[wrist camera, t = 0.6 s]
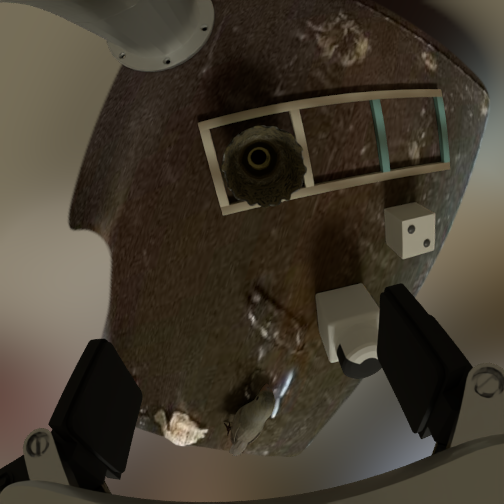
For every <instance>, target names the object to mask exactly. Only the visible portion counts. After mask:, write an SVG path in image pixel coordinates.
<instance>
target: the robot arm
mask: <svg viewBox="0 0 504 504" xmlns="http://www.w3.org/2000/svg"><path fill="white" fill-rule="evenodd" d="M0 2H9V3H20V4H26V5H30V6H34V7H37V8H40V9H43V10H46V11H48V12H51V13H53V14H55V15H58V16H60V17H63V18H64V19H66V20H68V21H70V22H72V23H74V24H76V25H79V26H80V27H83V28H85V29H87V30H88V31H90V32H92V33H95V34H96V35H98V36H100V37H102V38H104V39H106V40H107V44H108V47H109V50H110V52H111V53H112V55H113V56H114V57H115V58H116V59H117V60H118V61H119V62H120V63H122V64H123V65H125V66H126V67H129V68H131V69H134V70H138V71H142V72H156V71H163V70H167V69H170V68H173V67H175V66H178V65H180V64H182V63H184V62H185V61H187V60H188V59H190V58H191V57H193V56H194V55H195V54H196V53H197V52H198V51H199V50H200V49H201V48H202V47H203V46H204V44H205V43H206V42H207V40H208V38H209V36H210V35H211V32H212V29H213V26H214V18H215V15H214V8H213V5H212V1H211V0H0ZM204 28H206V29H207V30H206V31H203V29H204ZM124 55H126V56H125V58H123V57H124ZM167 61H170V64H167ZM377 358H378V360H379V363H380V364H381V366H382V368H383V370H384V372H385V374H386V376H387V378H388V380H389V383H390V385H391V387H392V389H393V391H394V393H395V395H396V397H397V399H398V401H399V403H400V405H401V408H402V410H403V412H404V414H405V416H406V418H407V421H408V423H409V425H410V427H411V429H412V431H413V432H414V433H418V434H419V436H420V438H421V439H423V438H426V437H428V436H430V435H432V437H433V439H434V441H436V444H435V447H434V450H433V453H432V455H431V456H429V457H426V458H424V459H421V460H419V461H416V462H414V463H411V464H409V465H406V466H403V467H401V468H398V469H395V470H392V471H389V472H386V473H383V474H380V475H377V476H374V477H370V478H367V479H364V480H360V481H357V482H353V483H349V484H345V485H342V486H337V487H334V488H329V489H324V490H320V491H315V492H310V493H304V494H299V495H292V496H285V497H278V498H270V499H261V500H250V501H235V502H175V501H160V500H150V499H141V498H133V497H125V496H119V495H112V494H111V492H110V490H109V489H108V486H107V485H106V483H105V481H104V480H105V476H106V477H108V478H113V479H119V480H120V478H121V473H123V472H124V471H125V468H126V464H127V459H128V455H129V451H130V446H131V442H132V438H133V434H134V430H135V426H136V422H137V418H138V414H139V410H140V406H141V402H142V392H141V390H140V388H139V387H138V385H137V384H136V382H135V381H134V379H133V378H132V376H131V374H130V373H129V371H128V370H127V368H126V366H125V365H124V363H123V362H122V360H121V358H120V357H119V355H118V353H117V352H116V350H115V348H114V346H113V345H112V343H110V342H108V341H107V340H106V339H94V340H90V341H89V343H88V345H87V347H86V348H85V350H84V352H83V354H82V356H81V358H80V360H79V362H78V363H77V365H76V367H75V369H74V371H73V373H72V375H71V377H70V379H69V381H68V383H67V385H66V387H65V389H64V391H63V393H62V395H61V398H60V400H59V402H58V404H57V406H56V408H55V410H54V413H53V415H52V417H51V419H50V422H49V426H50V427H51V428H52V431H51V432H50V431H49V430H47V429H44V428H39V429H36V430H34V431H32V432H31V433H30V434H29V435H28V437H27V438H26V439H25V441H24V445H23V452H24V455H23V456H21V457H19V458H18V459H16V460H14V461H13V462H11V463H9V464H8V465H6V466H4V467H3V468H1V469H0V504H504V370H503V369H502V368H501V367H499V366H498V365H495V364H492V363H482V364H479V365H477V366H475V367H472V366H471V364H470V363H469V361H468V360H467V359H466V357H465V356H464V355H463V353H462V352H461V351H460V349H459V348H458V347H457V346H456V344H455V343H454V342H453V341H452V339H451V338H450V337H449V335H448V334H447V333H446V332H445V330H444V329H443V328H442V327H441V325H440V324H439V323H438V322H437V320H436V319H435V318H434V317H433V316H432V315H429V314H428V313H427V312H426V311H425V309H424V308H423V307H422V306H421V304H420V303H419V302H418V301H417V300H416V299H415V297H414V296H413V295H412V294H411V293H410V292H409V290H408V289H407V288H406V287H405V286H404V285H403V284H401V283H400V284H396V285H393V286H389V287H386V288H385V290H384V292H383V293H381V295H380V310H379V327H378V340H377Z"/></svg>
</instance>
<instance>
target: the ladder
mask: <svg viewBox="0 0 504 504" xmlns="http://www.w3.org/2000/svg"><path fill="white" fill-rule="evenodd" d="M407 97H433V98H434V104H435V110H436V117H437V124H438V133H439V142H440V153H441V162H436V163H429V164H423V165H416V166H410V167H404V168H397V169H392V170H390V164H389V155H388V148H387V140H386V134H385V127H384V121H383V115H382V110H381V104H380V99H389V98H407ZM364 100H370V105H371V111H372V116H373V122H374V128H375V134H376V140H377V147H378V154H379V162H380V170H381V171H380V172H374V173H369V174H363V175H358V176H353V177H347V178H342V179H337V180H332V181H327V182H322V183H317V184H314V181H313V175H312V170H311V164H310V159H309V154H308V149H307V144H306V139H305V135H304V130H303V125H302V121H301V116H300V112H299V109H303V108H309V107H315V106H322V105H329V104H337V103H345V102H354V101H364ZM286 111H289V114H290V118H291V122H292V127H293V131H294V136H295V139H296V141H297V143H299V144H300V145H301V147H302V148H303V152H302V156H303V158H304V160H303V162H304V165H305V166H306V167H307V173H306V175H304V179H303V180H304V185H305V186H303V187H301V189H300V190H298V191H297V192H294V193H293V194H291V199H296V198H300V197H305V196H309V195H314V194H319V193H323V192H328V191H333V190H338V189H343V188H348V187H353V186H358V185H363V184H368V183H373V182H378V181H384V180H389V179H395V178H400V177H406V176H412V175H417V174H423V173H429V172H435V171H442V170H448V169H450V159H449V146H448V136H447V127H446V119H445V111H444V105H443V98H442V93H441V89H415V90H388V91H372V92H360V93H350V94H340V95H332V96H324V97H317V98H310V99H304V100H297V101H291V102H286V103H280V104H275V105H270V106H265V107H260V108H255V109H251V110H246V111H242V112H238V113H233V114H229V115H225V116H221V117H218V118H214V119H210V120H206V121H203V122H199V123H198V126H199V130H200V134H201V137H202V141H203V145H204V148H205V152H206V156H207V159H208V163H209V167H210V170H211V174H212V178H213V181H214V185H215V189H216V192H217V196H218V199H219V203H220V207H221V210H222V214H223V215H227V214H231V213H235V212H239V211H244V210H248V209H252V208H256V207H260V206H259V205H258V204H255V206H250V205H249V204H248V203H247V202H246V201H237V202H233V203H229V200H228V196H227V193H226V189H225V185H224V182H223V178H222V174H221V170H220V167H219V163H218V159H217V155H216V152H215V148H214V144H213V140H212V136H211V133H210V129H211V128H215V127H218V126H222V125H226V124H230V123H234V122H238V121H243V120H247V119H251V118H256V117H261V116H265V115H270V114H275V113H280V112H286ZM291 199H290V200H291ZM282 201H286V200H283V199H282ZM282 201H281V202H282Z"/></svg>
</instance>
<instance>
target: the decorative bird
mask: <svg viewBox="0 0 504 504" xmlns="http://www.w3.org/2000/svg"><path fill="white" fill-rule="evenodd" d="M274 405H275V398H274V395H273V392H272V389H271V387H270V386H269V385H268V384H265V385H264V386H263V387H262V389H261V390H260V392H259V394H258V395H257V396H256V398H255V400H253V401H252V402H250V403H248V404H246V405H244V406H243V407H241V408H240V409H239V410H238V411H237V413H236V415H235V417H234V419H233V422H232V426H231V427H230V423H229V426H227V425H226V424H225V423H224V424H225V426H226V428H227V431H228V433H227V436H228V434H229V431H230V430H231V442H232V443H233V445H232V447H231V449H230V451H229V452H230V453H231V454H233V455H234V456H237V455H239V454H241V453H242V451H244V450H245V448H246V446H247V445H248V444H250V443H252V442H253V441H254V440H256V439H257V437H258V436H259V435H260V433H261V431H262V429H263V426H264V423H265V421H266V420H267V419H268V417H269V416H270V415H271V414H272V412H273V409H274Z"/></svg>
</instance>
